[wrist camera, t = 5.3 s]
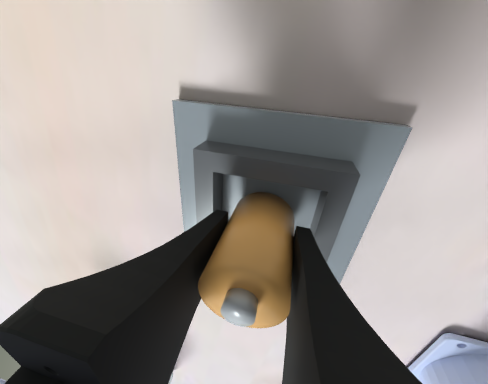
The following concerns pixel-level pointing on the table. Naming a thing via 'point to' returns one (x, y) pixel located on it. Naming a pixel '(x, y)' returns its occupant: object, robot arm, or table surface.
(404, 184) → the table surface
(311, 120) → the housing
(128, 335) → the robot arm
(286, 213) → the tan capped bottle
